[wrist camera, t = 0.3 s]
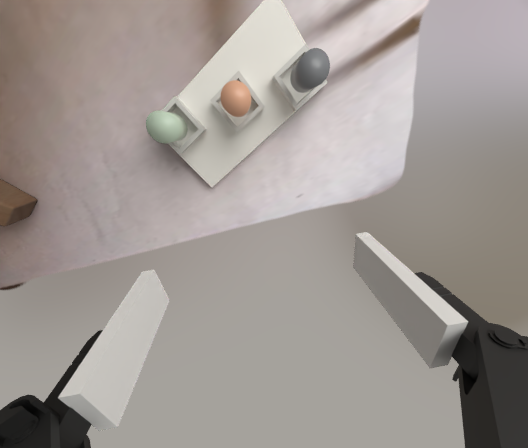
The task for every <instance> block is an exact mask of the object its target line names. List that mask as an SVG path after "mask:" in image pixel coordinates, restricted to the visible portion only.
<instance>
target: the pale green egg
mask: <svg viewBox="0 0 528 448" xmlns="http://www.w3.org/2000/svg"><path fill="white" fill-rule="evenodd" d="M146 127H147V131H148V133H149V134H150V136H151V137H152V138H153V139H154V140H156V141H157V142H160V143H170V142H175V141H179V140H182V139H183V138H185V136H186V135H187V131H188V128H187V124H186V122H185V120H184V119H183V118H182V117H181V116H180V115H178V114H176V113H171V112H165V111H154V112H152V113H150V114H149V116H148V117H147V120H146Z"/></svg>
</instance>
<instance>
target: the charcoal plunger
mask: <svg viewBox="0 0 528 448" xmlns="http://www.w3.org/2000/svg"><path fill="white" fill-rule="evenodd" d="M329 69H330V63H329V58H328V56H327V54H326V53H325V52H324V51H323V50H321V49H318V48H313V49H310V50H308V51H307V52H306V53H305V54H304V55H303V56H302V57H301V59H300V60H299V61H298V62H297V63H296V65H295V66H294V67H293V69H292V71H291V75H290V81H291V85H292V87H293V88H294V89H295V90H296V91H297V92H300V93H304V92H307V91H309V90H311V89H313V88H315V87H317V86H319V85H320V84H322V83H323V82H324V81H325V79H326V78H327V76H328V73H329Z"/></svg>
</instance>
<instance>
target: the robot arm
mask: <svg viewBox="0 0 528 448" xmlns="http://www.w3.org/2000/svg"><path fill="white" fill-rule="evenodd" d="M354 252H355V253H354V265H353V266H354V269H355V270H356V271H357V273H358V274H359V275H360V277H361V278H362V279H363V281H364V282H365V283H366V285H367V286H368V287H369V289H370V290H371V291H372V293H373V294H374V295H375V296H376V298H377V299H378V300H379V302H380V303H381V304H382V306H383V307H384V308H385V309H386V311H387V312H388V314H389V315H390V316H391V318H392V319H393V320H394V322H395V323H396V324H397V325H398V327H399V328H400V329H401V331H402V332H403V333H404V335H405V336H406V337H407V339H408V340H409V341H410V343H411V344H412V345H413V346H414V348H415V349H416V350H417V352H418V353H419V354H420V356H421V357H422V358H423V360H424V361H425V362H426V364H427V365H428V366H429V368H434V367H439V366H445V365H448V363H449V361H450V359H451V357H453V358H454V359H455V360H456V361H457V363H458V364H459V366H458V368H457V370H456V371H455V374H454V375H453V380H454V381H457V379H458V378H459V388H460V398H461V408H462V418H463V429H464V439H465V448H528V337H525V336H521V335H519V334H518V333H516V332H514V331H512V330H511V329H509V328H506V327H504V326H501V325H497V324H492V323H488V322H487V321H485V320H484V319H483V318H482V317H480V316H479V315H478V314H477V313H475V312H474V311H473V310H472V309H471V308H469V307H468V306H467V305H466V304H465V303H463V302H462V301H461V300H460V299H458V298H457V297H456V296H455V295H452V293H451V292H450V291H449V290H447V289H446V288H444V287H443V285H441V284H440V283H439V282H438V281H436V280H435V279H434V278H432V277H430V276H428V275H426V274H424V273H422V272H419V273H413V272H412V271H411V270H410V269H408V268H407V267H406V266H405V265H404V264H403V263H402V262H400V261H399V260H398V259H397V258H396V257H395V256H394V255H393V254H391V253H390V252H389V251H388V250H387V249H386V248H385V247H384V246H382V245H381V244H380V243H379V242H378V241H377V240H376V239H374V238H373V237H372V236H371V235H370V234H369V233H368V232H365V233H359V234H356V237H355V251H354ZM169 301H170V300H169V298H168V296H167V294H166V292H165V290H164V288H163V286H162V284H161V282H160V280H159V278H158V276H157V274H156V272H155V270H149V271H144V272H142V273H141V275H140V276H139V277H138V279H137V280H136V282H135V283H134V285H133V286H132V288H131V289H130V291H129V292H128V294H127V295H126V297H125V298H124V300H123V301H122V303H121V304H120V306H119V307H118V309H117V310H116V312H115V313H114V315H113V316H112V318H111V319H110V321H109V322H108V324H107V325H106V327H105V328H104V330H101V331H98V332H97V333H96V334H95V335H94V336H92V337H91V338H90V339H89V340H88V341H87V343H86V344H85V345H84V347H83V348H82V350H81V351H80V353H79V355H77V357H76V358H75V359H74V361H73V362H72V365H71V366H69V368H68V369H67V371H66V372H65V374H64V375H63V377H62V378H61V379H60V381H59V382H58V383H57V385H56V386H55V388H54V389H53V391H52V392H51V393H50V395H49V396H48V398H47V399H46V400H45V402H44V403H43V402H42V401H40V400H39V399H38V398H36V397H35V396H33V395H26V396H22V397H20V398H18V399H16V400H14V401H12V402H11V403H9V404H8V405H7V406H5V407H4V408H3V409H1V410H0V448H91V446H90V440H89V438H88V436H87V435H86V434H87V432H88V430H89V428H90V426H91V425H92V426H94V427H95V428H96V429H97V430H98V431H101V430H106V429H111V428H116V427H118V425H119V423H120V420H121V418H122V415H123V413H124V410H125V408H126V406H127V403H128V401H129V398H130V396H131V393H132V391H133V389H134V386H135V384H136V381H137V379H138V376H139V374H140V371H141V369H142V366H143V364H144V362H145V359H146V357H147V354H148V352H149V349H150V347H151V345H152V342H153V340H154V337H155V335H156V332H157V330H158V328H159V325H160V323H161V320H162V318H163V315H164V313H165V310H166V308H167V306H168V303H169Z"/></svg>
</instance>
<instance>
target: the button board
mask: <svg viewBox="0 0 528 448" xmlns="http://www.w3.org/2000/svg"><path fill="white" fill-rule="evenodd" d="M308 50H309V48H308V46H307V44H306V43H305V41H304V40H303V38H302V36H301V34H300V32H299V31H298V29H297V27H296V25H295V23H294V22H293V20H292V18H291V16H290V14H289V13H288V11H287V9H286V7H285V5H284V4H283V2H282V0H264V1H263V2H262V3H261V4H260V5H259V6H258V8H257V9H256V10H255V11H254V12H253V13H252V14H251V15H250V16H249V18H248V19H247V20H246V21H245V22H244V23H243V24H242V25H241V26H240V28H239V29H238V30H237V31H236V32H235V33H234V34H233V35H232V36H231V38H230V39H229V40H228V41H227V42H226V43H225V44H224V45H223V46H222V48H221V49H220V50H219V51H218V52H217V53H216V54H215V55H214V56H213V58H212V59H211V60H210V61H209V62H208V63H207V64H206V65H205V66H204V68H203V69H202V70H201V71H200V72H199V73H198V74H197V75H196V76H195V78H194V79H193V80H192V81H191V82H190V83H189V84H188V85H187V86H186V88H185V89H184V90H183V91H182V92H181V93H180V94H179V95H178V96H177V97H176V96H174V97H173V98H172V99H171V100H170V102H169V103H168V104H167V105H166V106H165V107H164V108H163V109H162V110H161V111H165V112H171V113H176V114H178V115H180V116H181V117H182V118H183V119H184V120H185V122H186V124H187V128H188V131H187V135H186V136H185V138H183V139H182V140H179V141H175V142H170V143H168V144H169V145H170V146H171V147H172V148H173V149H174V150H175V151H176V152H177V153H178V154H179V155H180V156H181V157H182V158H183V159H184V160H185V161H186V162H187V163H188V164H189V165H190V166H191V167H192V168H193V169H194V170H195V171H196V172H197V173H198V174H199V175H200V176H201V177H202V178H203V179H204V180H205V181H206V182H207V183H208V184H209V185H210V186H211V187H213V186H214V185H215V184H217V183H218V182H219V181H220V180H221V179H222V178H223V177H224V176H225V175H226V174H228V173H229V172H230V171H231V170H232V169H233V168H234V167H235V166H236V165H237V164H239V163H240V162H241V161H242V160H243V159H244V158H245V157H246V156H247V155H248V154H250V153H251V152H252V151H253V150H254V149H255V148H256V147H257V146H258V145H259V144H261V143H262V142H263V141H264V140H265V139H266V138H267V137H268V136H269V135H270V134H271V133H273V132H274V131H275V130H276V129H277V128H278V127H279V126H280V125H281V124H282V123H284V122H285V121H286V120H287V119H288V118H289V117H290V116H291V115H292V114H293V113H295V112H296V111H297V110H298V109H299V108H300V107H301V106H302V105H303V104H305V103H306V102H307V101H308V100H309V99H310V98H311V97H312V96H313V95H314V94H315V93H317V92H318V91H319V90H320V89H321V88H322V87H323V86H324V85H325V84H326V83H328V82H327V80H326V79H325V81H324V82H323V83H322V84H320V85H319V86H317V87H315V88H313V89H311V90H309V91H307V92H304V93H300V92H297V91H296V90H295V89H294V88H293V87H292V85H291V81H290V75H291V71H292V69H293V67H294V66H295V65H296V63H297V62H298V61H299V60H300V59H301V57H302V56H303V55H304V54H305V53H306V52H307V51H308ZM233 80H237V81H240V82H242V83H244V84H245V85H246V86H247V87H248V89H249V91H250V94H251V105H250V108H249V111H248V112H247V113H246V114H245V115H244V116H242V117H234V116H232V115H231V114H229V113H228V112H227V111H226V110H225V109H224V108H223V106H222V103H221V91H222V88H223V87H224V85H225V84H226V83H228V82H230V81H233Z"/></svg>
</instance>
